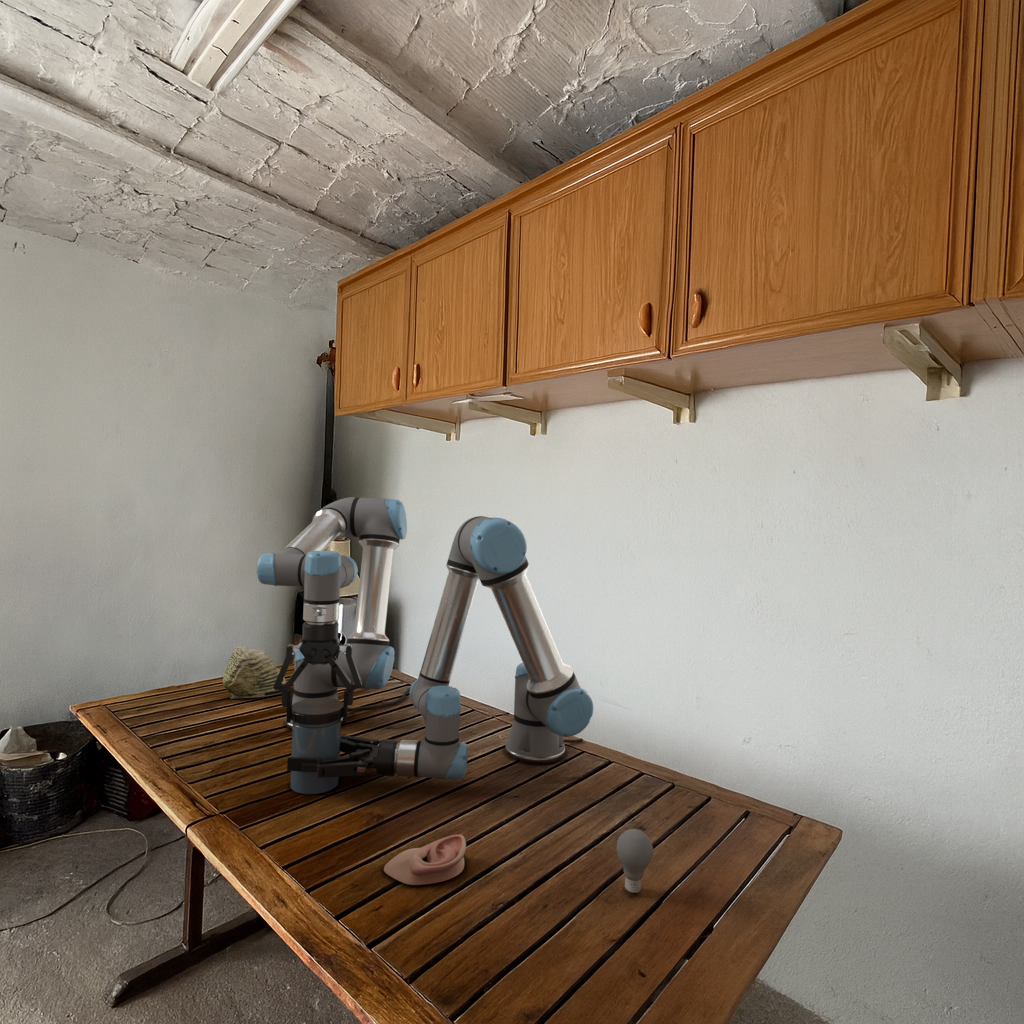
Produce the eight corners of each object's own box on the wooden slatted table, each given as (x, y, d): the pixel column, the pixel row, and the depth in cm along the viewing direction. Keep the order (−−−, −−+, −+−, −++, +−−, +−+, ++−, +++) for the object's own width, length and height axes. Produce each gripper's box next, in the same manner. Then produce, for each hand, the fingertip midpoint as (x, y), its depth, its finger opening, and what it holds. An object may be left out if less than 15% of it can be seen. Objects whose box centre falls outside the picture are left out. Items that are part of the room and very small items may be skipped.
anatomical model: (377, 856, 105) (402, 822, 117) (376, 879, 106) (401, 843, 117) (453, 868, 103) (472, 833, 114) (452, 892, 103) (471, 854, 114)
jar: (320, 769, 147) (323, 700, 147) (348, 783, 141) (351, 711, 140) (280, 783, 139) (283, 711, 139) (308, 799, 133) (311, 722, 132)
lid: (278, 719, 136) (278, 709, 136) (313, 704, 147) (313, 694, 147) (322, 728, 132) (322, 718, 132) (354, 712, 143) (354, 702, 143)
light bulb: (610, 879, 108) (613, 822, 108) (644, 879, 109) (647, 822, 109) (619, 902, 102) (622, 840, 102) (655, 901, 103) (658, 840, 103)
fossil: (218, 695, 195) (220, 647, 195) (278, 685, 208) (279, 640, 207) (228, 703, 189) (230, 653, 188) (289, 692, 201) (290, 645, 201)
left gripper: (260, 624, 133) (257, 727, 134) (375, 625, 138) (371, 725, 138) (267, 617, 140) (264, 715, 141) (376, 618, 145) (372, 713, 145)
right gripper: (385, 799, 128) (276, 794, 128) (405, 754, 151) (312, 749, 151) (387, 762, 128) (278, 757, 128) (406, 722, 151) (314, 718, 151)
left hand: (317, 720), depth 140 cm, fingers closed on lid, 11 cm apart
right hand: (296, 753), depth 140 cm, fingers closed on jar, 10 cm apart
